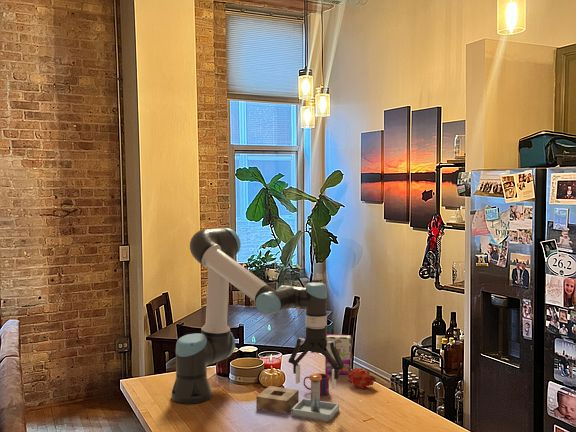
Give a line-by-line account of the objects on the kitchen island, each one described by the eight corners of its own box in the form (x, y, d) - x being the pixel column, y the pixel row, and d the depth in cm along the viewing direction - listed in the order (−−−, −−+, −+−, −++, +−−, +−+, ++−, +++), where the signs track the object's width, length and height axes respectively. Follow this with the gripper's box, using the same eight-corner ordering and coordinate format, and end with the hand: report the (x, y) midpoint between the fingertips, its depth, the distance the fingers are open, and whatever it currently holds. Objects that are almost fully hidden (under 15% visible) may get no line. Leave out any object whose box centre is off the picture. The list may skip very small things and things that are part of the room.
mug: (327, 396, 224) (327, 379, 223) (302, 394, 226) (302, 377, 226) (330, 390, 230) (330, 374, 230) (305, 388, 232) (305, 372, 232)
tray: (291, 415, 204) (291, 409, 204) (302, 404, 215) (302, 398, 215) (329, 422, 199) (329, 414, 199) (338, 410, 210) (338, 403, 210)
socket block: (256, 408, 211) (256, 396, 211) (269, 397, 222) (269, 385, 222) (286, 413, 207) (286, 400, 207) (298, 401, 218) (298, 390, 218)
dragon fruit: (345, 388, 238) (373, 396, 234) (342, 381, 231) (371, 390, 227) (351, 368, 242) (379, 376, 238) (348, 361, 235) (377, 369, 231)
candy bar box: (351, 371, 254) (351, 335, 254) (350, 375, 249) (351, 337, 249) (326, 370, 256) (326, 333, 255) (324, 373, 251) (325, 336, 250)
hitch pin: (307, 412, 206) (307, 377, 205) (311, 408, 210) (311, 373, 209) (319, 414, 204) (319, 378, 203) (323, 410, 208) (323, 374, 207)
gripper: (279, 325, 207) (279, 383, 208) (347, 332, 198) (346, 393, 199) (287, 321, 214) (287, 377, 215) (352, 327, 204) (352, 386, 206)
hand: (315, 385), depth 207 cm, fingers open, 13 cm apart
